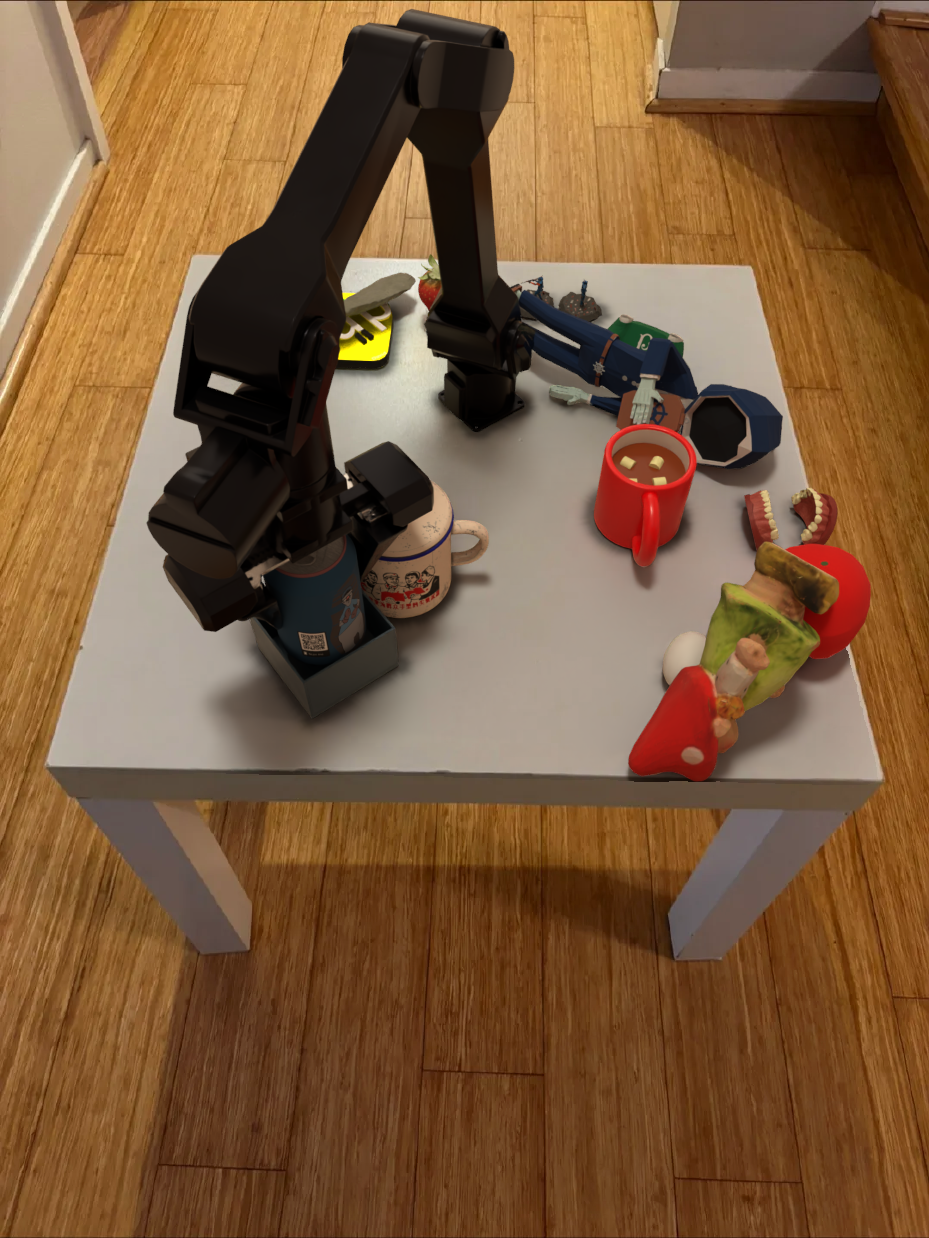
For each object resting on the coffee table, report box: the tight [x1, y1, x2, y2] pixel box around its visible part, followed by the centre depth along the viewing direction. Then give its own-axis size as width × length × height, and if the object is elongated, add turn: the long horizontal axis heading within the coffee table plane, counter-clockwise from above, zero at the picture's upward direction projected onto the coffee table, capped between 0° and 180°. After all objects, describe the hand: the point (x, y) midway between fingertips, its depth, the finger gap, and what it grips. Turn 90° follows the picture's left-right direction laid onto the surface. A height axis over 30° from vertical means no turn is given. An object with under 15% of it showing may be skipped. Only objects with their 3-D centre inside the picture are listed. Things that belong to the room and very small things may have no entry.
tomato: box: [784, 544, 872, 660], centre depth 80 cm, size 9×10×8 cm
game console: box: [336, 292, 394, 370], centre depth 104 cm, size 18×11×2 cm, turn 89°
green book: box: [607, 313, 685, 358], centre depth 100 cm, size 9×4×6 cm
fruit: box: [417, 253, 442, 312], centre depth 102 cm, size 5×5×8 cm
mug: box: [593, 424, 698, 568], centre depth 85 cm, size 8×12×8 cm, turn 179°
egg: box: [662, 631, 706, 686], centre depth 79 cm, size 4×6×4 cm, turn 156°
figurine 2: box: [627, 541, 839, 782], centre depth 73 cm, size 11×9×20 cm
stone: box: [344, 272, 417, 317], centre depth 103 cm, size 13×2×5 cm
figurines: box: [520, 275, 603, 322], centre depth 105 cm, size 10×5×4 cm, turn 85°
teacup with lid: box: [361, 479, 490, 619], centre depth 81 cm, size 12×9×12 cm
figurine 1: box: [509, 283, 784, 470], centre depth 93 cm, size 12×12×30 cm
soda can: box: [262, 534, 366, 666], centre depth 74 cm, size 7×7×12 cm
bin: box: [249, 589, 399, 720], centre depth 79 cm, size 8×8×6 cm
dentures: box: [743, 487, 839, 551], centre depth 88 cm, size 6×4×8 cm
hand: (317, 601), depth 75 cm, fingers closed on soda can, 7 cm apart
